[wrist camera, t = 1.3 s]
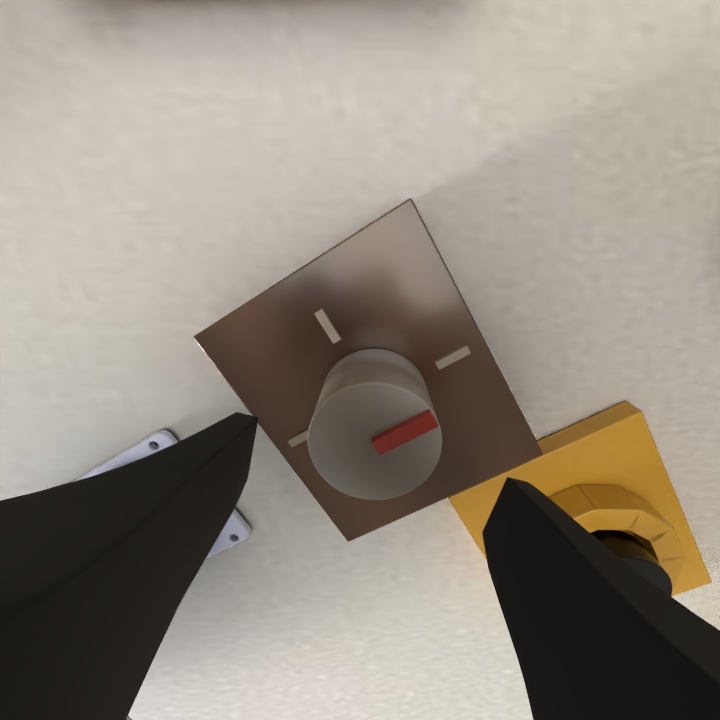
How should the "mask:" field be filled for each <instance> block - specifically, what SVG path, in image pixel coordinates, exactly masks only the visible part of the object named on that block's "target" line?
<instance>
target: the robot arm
mask: <svg viewBox="0 0 720 720" xmlns="http://www.w3.org/2000/svg"><path fill="white" fill-rule="evenodd" d="M257 422H258V417H254V416H250V415H246V414H242V413H238V412H236V413H234V414H232V415H230V416H228V417H226V418H225V419H223V420H221V421H219V422H217V423H215V424H213V425H211V426H210V427H208V428H206V429H204V430H202V431H200V432H198V433H196V434H194V435H192V436H190V437H188V438H186V439H184V440H182V441H180V442H178V441H177V440H176V439H175V437H174V436H173V435H172V434H171V433H170V432H169V431H166V430H160V431H157V432H156V433H154V434H152V435H151V436H149V437H147V438H145V439H144V440H142V441H140V442H139V443H137V444H135V445H134V446H132V447H130V448H128V449H127V450H125V451H123V452H122V453H120V454H118V455H117V456H115V457H113V458H111V459H110V460H108V461H106V462H105V463H103V464H101V465H100V466H98V467H96V468H94V469H93V470H91V471H89V472H88V473H86V474H84V475H83V476H81V477H79V478H77V479H76V480H74V481H72V482H70V483H67V484H63V485H60V486H56V487H53V488H49V489H46V490H42V491H39V492H35V493H31V494H27V495H23V496H18V497H14V498H10V499H6V500H1V501H0V720H132V719H131V718H130V717H129V716H128V713H129V711H130V709H131V707H132V705H133V702H134V700H135V698H136V696H137V694H138V692H139V689H140V687H141V685H142V683H143V681H144V679H145V676H146V674H147V672H148V670H149V668H150V666H151V663H152V661H153V659H154V657H155V655H156V653H157V650H158V648H159V646H160V644H161V642H162V640H163V638H164V636H165V634H166V631H167V629H168V627H169V625H170V623H171V621H172V619H173V617H174V615H175V613H176V611H177V609H178V607H179V606H180V604H181V602H182V600H183V598H184V596H185V594H186V592H187V590H188V588H189V587H190V585H191V583H192V581H193V579H194V577H195V576H196V574H197V572H198V571H199V569H200V567H201V566H202V564H203V562H204V560H205V559H208V558H210V557H212V556H214V555H216V554H218V553H220V552H222V551H224V550H226V549H228V548H230V547H233V546H235V545H237V544H239V543H241V542H243V541H245V540H247V539H248V538H249V536H250V534H251V528H250V526H249V525H248V524H247V523H246V522H245V520H244V519H243V518H242V517H241V516H240V514H239V513H238V512H237V511H236V510H235V509H234V508H235V506H236V504H237V502H238V499H239V497H240V495H241V493H242V490H243V488H244V486H245V483H246V481H247V479H248V474H249V468H250V462H251V456H252V451H253V445H254V439H255V434H256V428H257ZM153 441H154V442H156V443H158V445H159V446H157V445H155V444H154V442H153ZM233 534H235V535H237V536H234V535H233ZM482 535H483V541H484V547H485V553H486V558H487V563H488V568H489V571H490V574H491V578H492V581H493V584H494V587H495V590H496V593H497V597H498V600H499V603H500V606H501V609H502V612H503V615H504V618H505V621H506V624H507V627H508V630H509V633H510V636H511V639H512V642H513V645H514V648H515V651H516V654H517V657H518V661H519V664H520V667H521V671H522V674H523V678H524V681H525V685H526V689H527V694H528V698H529V702H530V706H531V711H532V715H533V719H534V720H720V631H719V630H718V629H716V628H715V627H713V626H712V625H710V624H709V623H707V622H706V621H705V620H703V619H702V618H700V617H699V616H697V615H696V614H694V613H693V612H691V611H690V610H689V609H687V608H686V607H684V606H683V605H682V604H680V603H679V602H677V601H676V600H675V599H673V598H672V597H671V596H669V595H668V594H666V593H665V592H664V591H662V590H661V589H659V588H658V587H657V586H655V585H654V584H653V583H651V582H650V581H649V580H647V579H646V578H645V577H643V576H642V575H641V574H640V573H638V572H637V571H636V570H635V569H633V568H632V567H631V566H630V565H628V564H627V563H626V562H625V561H623V560H622V559H621V558H620V557H618V556H617V555H616V554H615V553H613V552H612V551H611V550H610V549H608V548H607V547H606V546H605V545H604V544H602V543H601V542H600V541H599V540H598V539H596V538H595V537H594V536H593V535H592V534H591V533H589V532H588V531H587V530H586V529H585V528H584V527H582V526H581V525H580V524H579V523H578V522H577V521H575V520H574V519H573V518H572V517H571V516H570V515H568V514H567V513H566V512H565V511H564V510H563V509H561V508H560V507H559V506H558V505H557V504H556V503H554V502H553V501H552V500H551V499H550V498H548V497H547V496H546V495H545V494H544V493H542V492H541V491H540V490H538V489H537V488H536V487H534V486H533V485H532V484H530V483H529V482H526V481H522V480H518V479H514V478H510V477H507V479H506V481H505V483H504V485H503V487H502V490H501V492H500V494H499V496H498V498H497V501H496V503H495V505H494V507H493V509H492V512H491V514H490V516H489V518H488V520H487V523H486V525H485V527H484V529H483V531H482Z"/></svg>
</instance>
